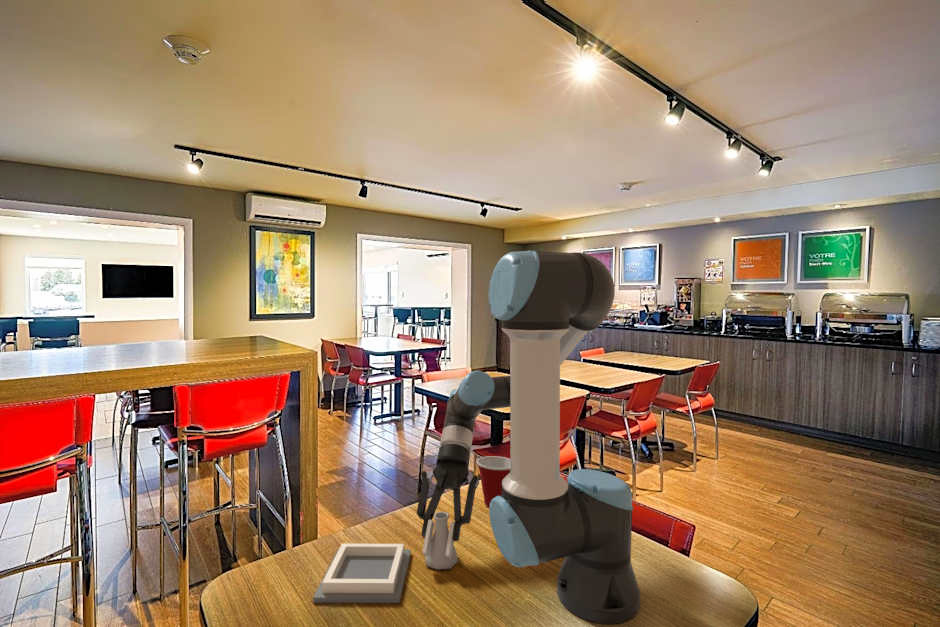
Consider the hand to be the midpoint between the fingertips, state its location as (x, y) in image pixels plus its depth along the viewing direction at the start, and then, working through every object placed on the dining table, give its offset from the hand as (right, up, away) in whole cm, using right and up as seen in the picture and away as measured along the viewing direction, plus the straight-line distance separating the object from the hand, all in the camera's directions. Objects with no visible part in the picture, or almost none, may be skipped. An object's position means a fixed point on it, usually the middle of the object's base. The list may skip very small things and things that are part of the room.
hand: (436, 555), depth 96 cm
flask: (+1, -3, +4) cm, 5 cm away
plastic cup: (+14, -2, +30) cm, 33 cm away
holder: (-14, -4, -1) cm, 15 cm away
